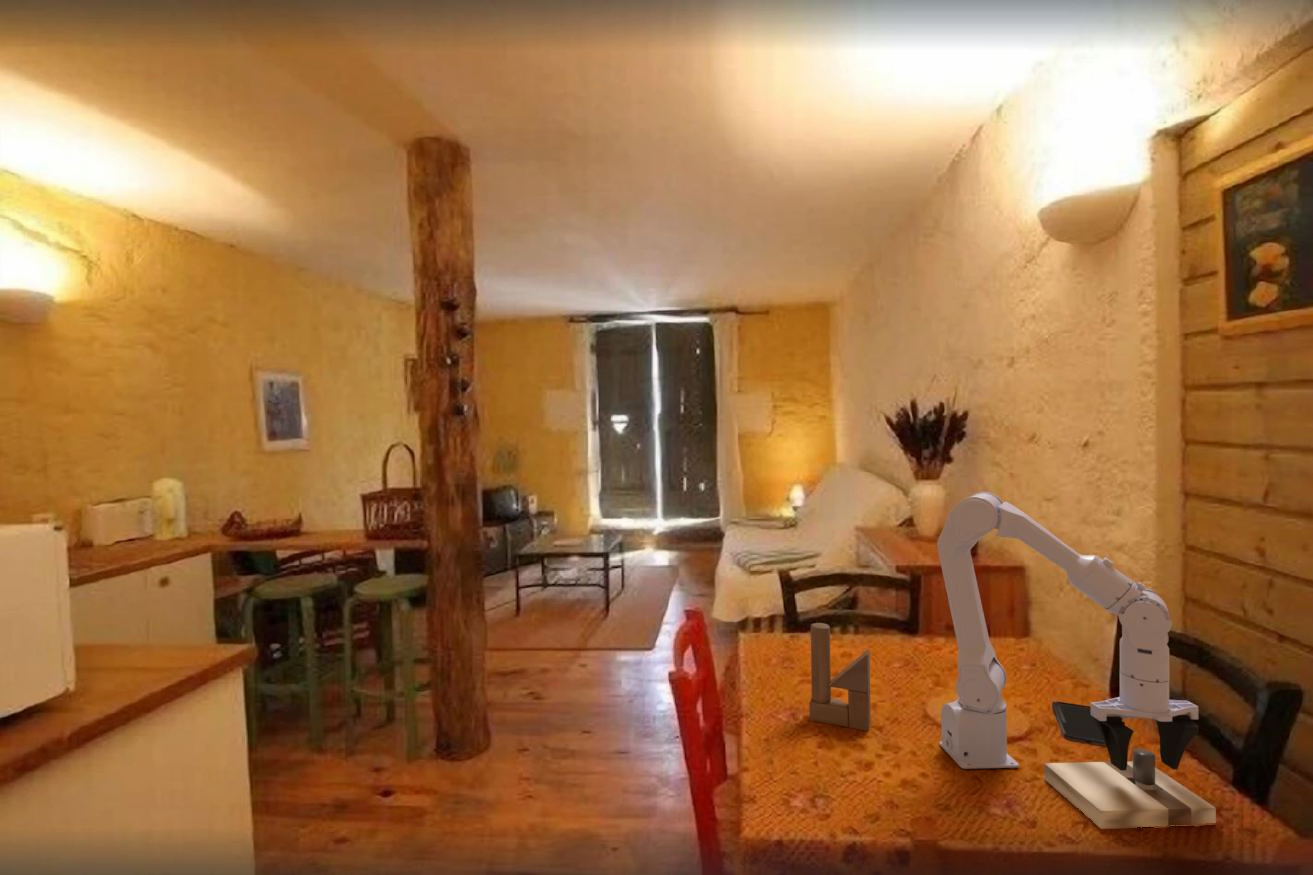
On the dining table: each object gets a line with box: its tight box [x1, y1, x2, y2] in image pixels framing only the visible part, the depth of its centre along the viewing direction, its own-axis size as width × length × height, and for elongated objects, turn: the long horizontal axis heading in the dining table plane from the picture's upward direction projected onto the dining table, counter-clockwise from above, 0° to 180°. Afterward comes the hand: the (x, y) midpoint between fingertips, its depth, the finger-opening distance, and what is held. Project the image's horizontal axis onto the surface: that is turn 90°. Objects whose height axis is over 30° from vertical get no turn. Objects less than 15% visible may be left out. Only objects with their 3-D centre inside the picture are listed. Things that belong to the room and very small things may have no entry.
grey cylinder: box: [1132, 748, 1156, 790], centre depth 91 cm, size 3×3×7 cm
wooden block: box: [808, 622, 872, 732], centre depth 116 cm, size 4×11×18 cm, turn 65°
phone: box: [1051, 700, 1107, 748], centre depth 114 cm, size 8×1×15 cm
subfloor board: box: [1043, 760, 1217, 830], centre depth 90 cm, size 16×12×2 cm
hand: (1144, 766), depth 90 cm, fingers open, 7 cm apart
